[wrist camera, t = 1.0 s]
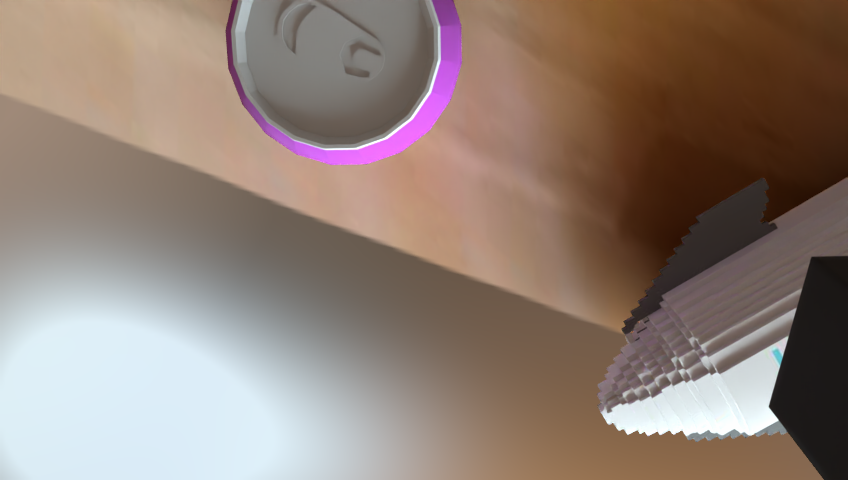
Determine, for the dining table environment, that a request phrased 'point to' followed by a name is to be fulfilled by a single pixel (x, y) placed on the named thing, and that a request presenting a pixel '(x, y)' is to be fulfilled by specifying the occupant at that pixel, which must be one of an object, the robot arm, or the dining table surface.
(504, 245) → the dining table surface
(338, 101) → the beverage can
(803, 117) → the dining table surface
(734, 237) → the rocket model
